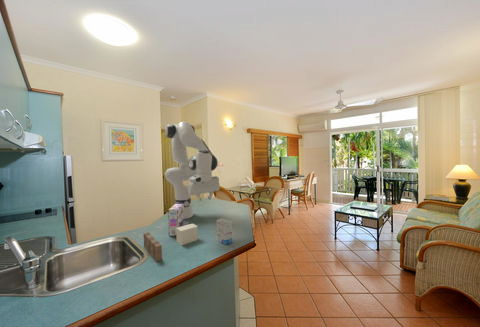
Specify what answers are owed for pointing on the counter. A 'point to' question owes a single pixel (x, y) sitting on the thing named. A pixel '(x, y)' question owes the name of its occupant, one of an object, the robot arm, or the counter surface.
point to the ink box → (224, 231)
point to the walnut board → (153, 246)
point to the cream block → (187, 234)
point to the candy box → (175, 218)
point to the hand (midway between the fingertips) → (204, 200)
